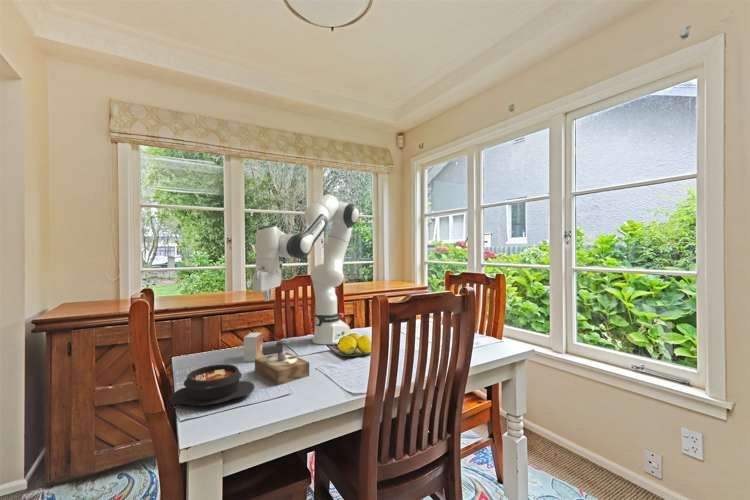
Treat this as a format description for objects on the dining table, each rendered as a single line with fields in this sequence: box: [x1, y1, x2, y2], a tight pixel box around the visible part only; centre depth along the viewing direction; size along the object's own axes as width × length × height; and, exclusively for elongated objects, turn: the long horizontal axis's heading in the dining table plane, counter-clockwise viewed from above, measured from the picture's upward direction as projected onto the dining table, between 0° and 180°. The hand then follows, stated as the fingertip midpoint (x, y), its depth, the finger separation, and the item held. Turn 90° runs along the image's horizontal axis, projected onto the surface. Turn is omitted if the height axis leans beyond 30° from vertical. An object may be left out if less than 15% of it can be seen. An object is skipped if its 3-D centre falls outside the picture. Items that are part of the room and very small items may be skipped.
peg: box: [262, 339, 298, 361], centre depth 132 cm, size 13×4×7 cm, turn 125°
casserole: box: [168, 364, 255, 407], centre depth 112 cm, size 25×19×8 cm
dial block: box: [254, 351, 310, 386], centre depth 132 cm, size 13×18×5 cm
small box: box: [243, 332, 264, 362], centre depth 149 cm, size 8×6×10 cm
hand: (267, 300), depth 137 cm, fingers closed
